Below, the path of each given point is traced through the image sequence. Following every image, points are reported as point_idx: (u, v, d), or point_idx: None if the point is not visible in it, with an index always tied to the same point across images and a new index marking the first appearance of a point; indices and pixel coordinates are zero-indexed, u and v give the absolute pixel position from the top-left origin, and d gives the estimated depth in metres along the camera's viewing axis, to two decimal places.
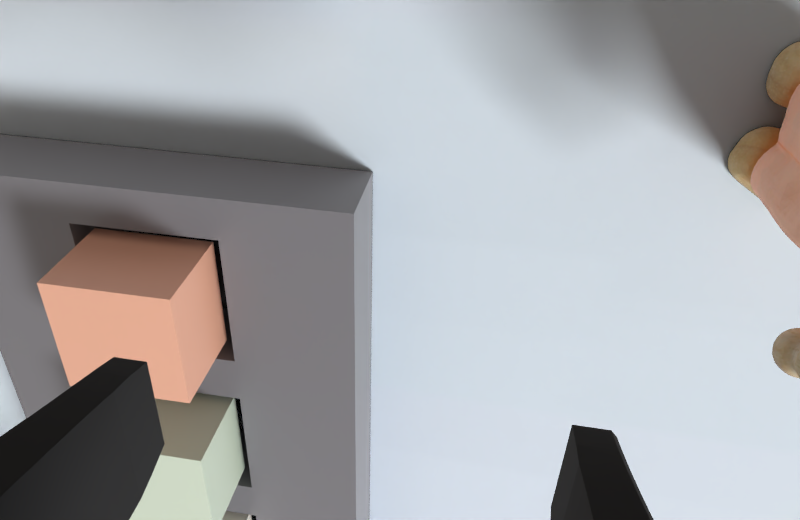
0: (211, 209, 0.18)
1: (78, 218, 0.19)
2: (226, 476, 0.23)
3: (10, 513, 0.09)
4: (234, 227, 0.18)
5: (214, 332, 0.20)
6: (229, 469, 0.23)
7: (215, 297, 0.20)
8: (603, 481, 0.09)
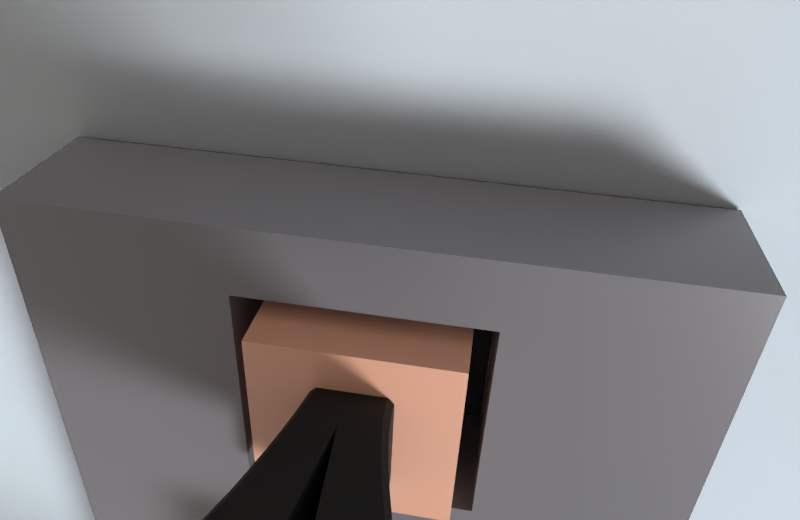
0: (502, 280, 0.10)
1: (247, 289, 0.11)
2: None
3: None
4: (538, 311, 0.10)
5: None
6: None
7: None
8: (353, 442, 0.10)
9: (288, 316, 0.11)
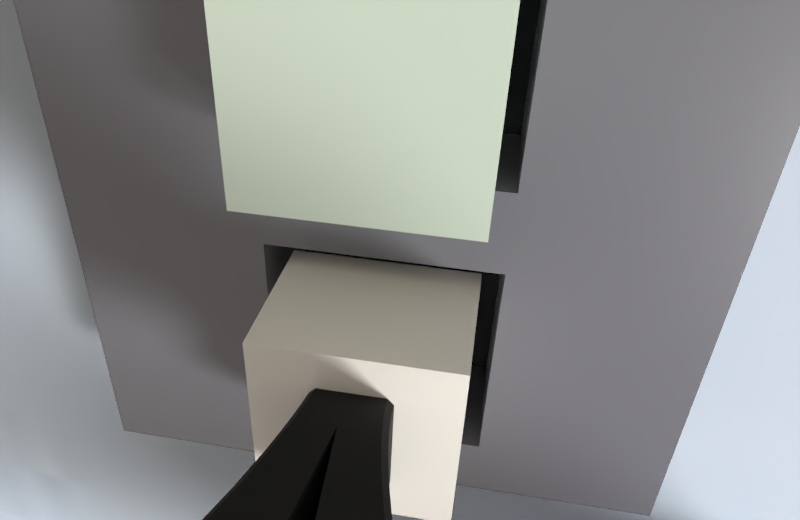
0: None
1: None
2: None
3: None
4: None
5: None
6: None
7: None
8: (352, 442, 0.10)
9: None
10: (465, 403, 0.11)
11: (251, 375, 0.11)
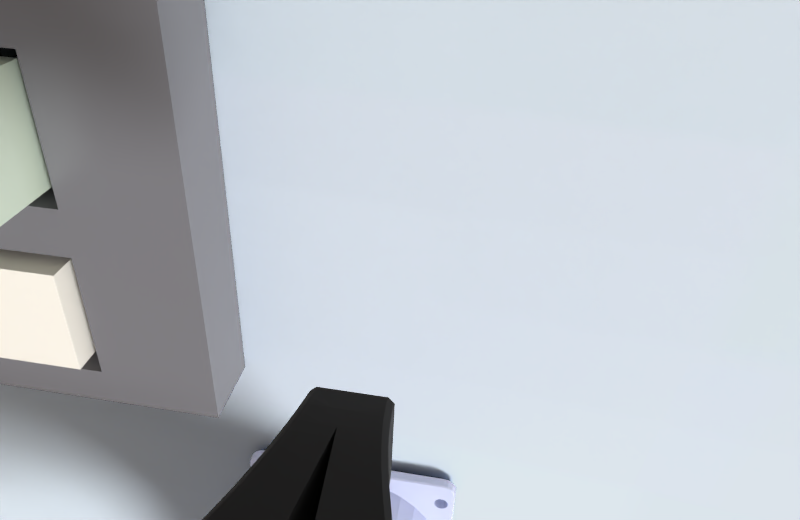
0: None
1: None
2: (6, 168, 0.17)
3: None
4: None
5: None
6: (13, 162, 0.17)
7: None
8: (352, 442, 0.10)
9: None
10: (58, 292, 0.20)
11: None
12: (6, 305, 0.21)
